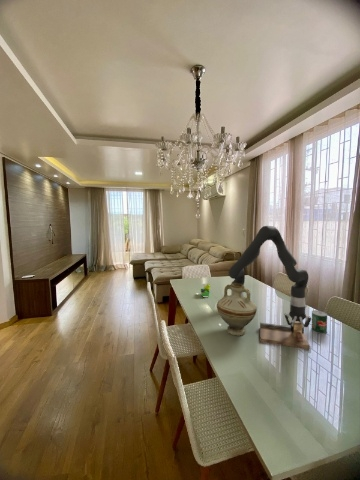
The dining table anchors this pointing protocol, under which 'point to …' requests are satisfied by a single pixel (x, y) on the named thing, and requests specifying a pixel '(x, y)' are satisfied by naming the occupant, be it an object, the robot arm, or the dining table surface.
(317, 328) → the canned tomato
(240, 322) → the amphora
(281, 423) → the dining table surface
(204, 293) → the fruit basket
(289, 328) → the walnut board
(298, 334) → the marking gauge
